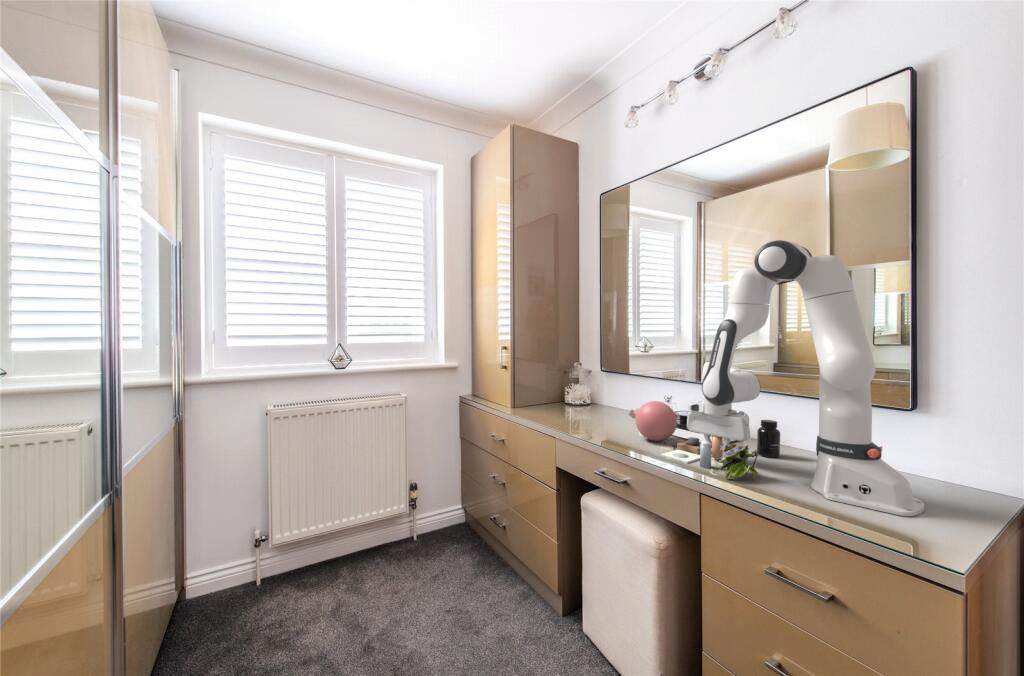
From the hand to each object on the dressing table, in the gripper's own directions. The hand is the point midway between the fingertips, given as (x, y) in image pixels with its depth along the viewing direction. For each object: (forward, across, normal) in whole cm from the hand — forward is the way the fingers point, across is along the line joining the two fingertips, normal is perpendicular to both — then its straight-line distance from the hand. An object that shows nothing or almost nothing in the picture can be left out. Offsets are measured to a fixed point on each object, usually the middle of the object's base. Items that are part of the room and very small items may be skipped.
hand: (717, 449), depth 140 cm
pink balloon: (+3, +30, -4) cm, 30 cm away
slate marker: (+4, -2, +10) cm, 10 cm away
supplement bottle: (+4, -7, -20) cm, 21 cm away
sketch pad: (+3, +8, +7) cm, 11 cm away
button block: (+3, +11, -3) cm, 12 cm away
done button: (+2, +11, -3) cm, 11 cm away
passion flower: (+4, -13, +10) cm, 16 cm away
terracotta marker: (+3, 0, 0) cm, 3 cm away
